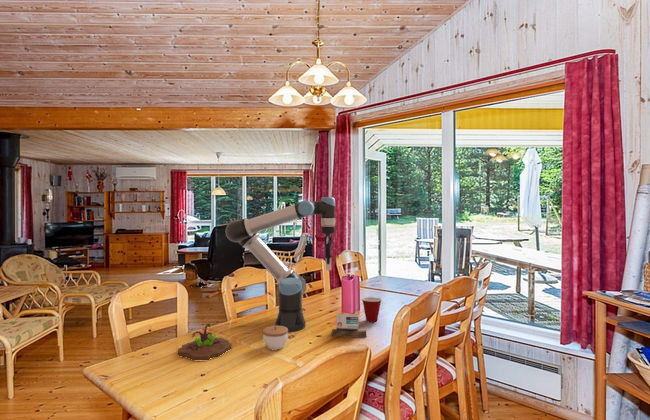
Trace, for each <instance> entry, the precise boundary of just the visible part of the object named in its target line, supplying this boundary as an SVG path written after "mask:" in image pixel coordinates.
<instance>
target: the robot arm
mask: <svg viewBox="0 0 650 420" xmlns="http://www.w3.org/2000/svg"><path fill="white" fill-rule="evenodd" d="M310 216H320V217H321V218H320V222H321V223H320V225H321V227H320V228H321V233H320V234H322V235H323V234H324V235H325V236H324V239H323V240H324V249H325V253H324V254H325V255H324V257H323V258H324V259H325V270H326V271H332V258H333V256H332V244H333V236H332V234H336V227H335V225H336V222H337V219H336V199H335V198H334V197H330V196H329V197H328V196H325V197H324V196H323V197H321V199H320V200H301V201H299V202H297V203H295V204H291V205H288V206H286V207H283V208H280V209H277V210H273V211H270V212H268V213H264V214H260V215H258V216H255V217H252V218H246V217H245V218H241V219H235V220H232V221H230V222H229V223H228V224H227V225H226V227H225V236H226V237H227V239H228V240H229V241H230V242H233V243H238V245H240V246H241V247H242V248H244V249H245V248H246V249H248V251H249V252H250V253H251V254H252V255H253V256H254V257H255V258H256V259H257V260H258V262H260V263H261V265H262V266H263V267H264V269H266V270H267V271H268V272H269V273H270V275H271V276H272V277H273V278H274V279H275V280H276V286H277V287H278V312H277V316H276V320H275V325H274V326H284V327H287V328H288V332H297V331H300V330H304V329H305V327H306V319H305V315H304V312H303V301H302V300H303V296H304V294H305V292H306V289H307V282H306V280H305V279H304V277H302V276H301V275H299V274H297V272H296V271H295V270H293V269H289V268H288V267H287V266H286V265H285V264H284V263H283V261H282V260H281V259H280V258H279V257H278V256H277V255H276V254H275V252H273V251H272V250H271V248H270V247H269V246H268V245H267V243H265V242H264V241H263V240H262V238H260V232H263V231H265V230H269V229H271V228H275V227H278V226H281V225H284V224H286V223H290V222H293V221H295V220H298V219H303V218H305V217H310Z"/></svg>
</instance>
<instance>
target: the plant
mask: <svg viewBox="0 0 650 420" xmlns="http://www.w3.org/2000/svg"><path fill="white" fill-rule="evenodd" d="M212 326H213V325H212V323H207V324H205V327H204V329H203V333H202V332H201V331H198V330H197V331H195V332H193V333H192V334H191V338H192V339H193V341H190V342H186V343H185V344H182V345H181V347H179V348H177V356H178V355H179V356H178V357H180V356H182V357H181V358H184V357H187V358H186V359H188V358H190V359H189V360H191V359H192V360H209V359H210V358H213V357H218V356H220V355H222V354H223V353H225V352H226V351H228V350H230V349H231V350H232V344H231V342H230V341H229V340H227V339H225V338H223V337H217V336H218V334H214V333H212V332H207V330H208V329H207V328H211V327H212ZM196 334H199V335H197V337H196ZM231 350H230V351H231ZM228 352H229V351H228ZM226 353H227V352H226ZM226 353H225V354H226ZM223 355H224V354H223ZM223 355H222V356H223ZM220 357H221V356H220ZM218 358H219V357H218ZM213 359H214V358H213ZM192 360H191V361H192ZM210 360H211V359H210ZM210 360H209V361H210Z"/></svg>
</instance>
